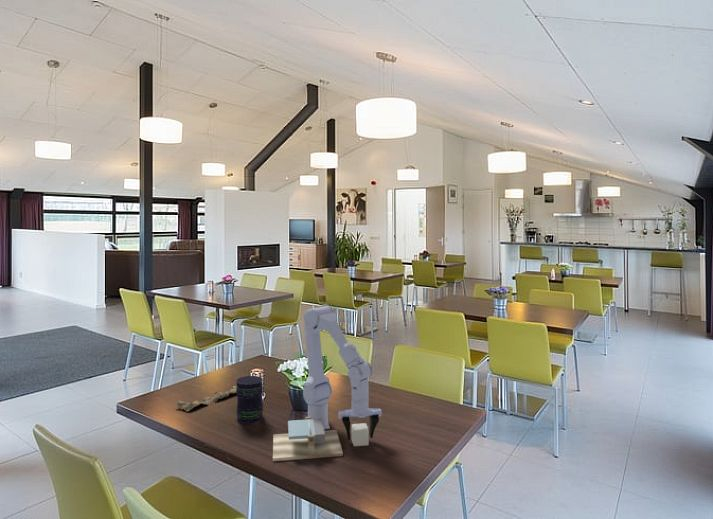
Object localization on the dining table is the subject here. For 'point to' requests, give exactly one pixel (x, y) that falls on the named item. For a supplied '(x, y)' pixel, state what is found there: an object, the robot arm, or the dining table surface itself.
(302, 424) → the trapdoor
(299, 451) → the beige slab
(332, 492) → the dining table surface
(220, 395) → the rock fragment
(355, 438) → the limestone block
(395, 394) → the dining table surface
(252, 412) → the storage jar
